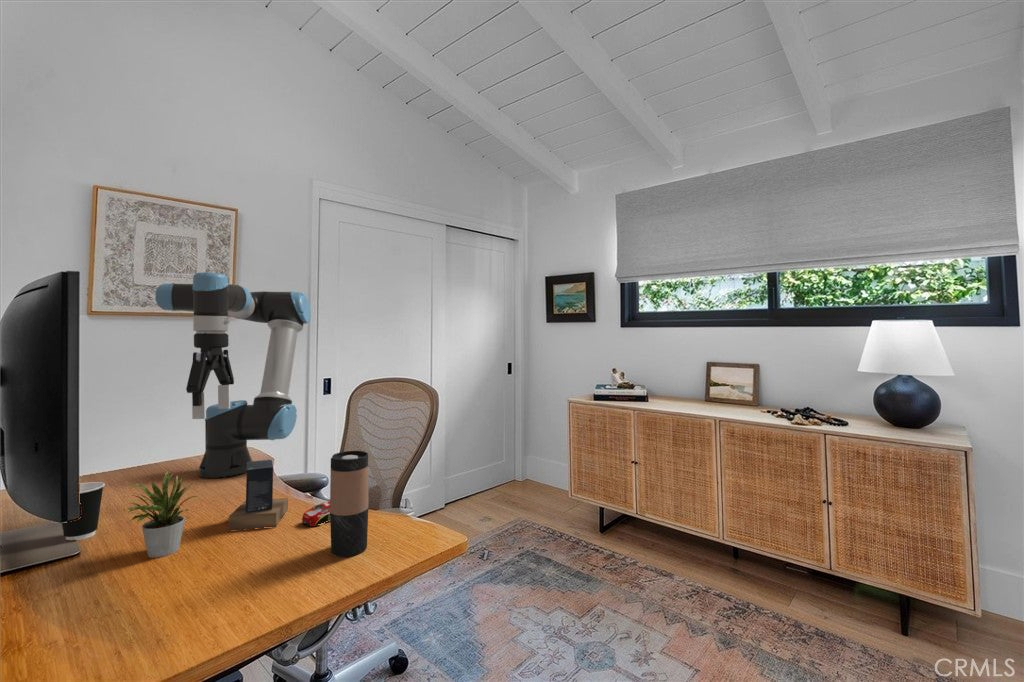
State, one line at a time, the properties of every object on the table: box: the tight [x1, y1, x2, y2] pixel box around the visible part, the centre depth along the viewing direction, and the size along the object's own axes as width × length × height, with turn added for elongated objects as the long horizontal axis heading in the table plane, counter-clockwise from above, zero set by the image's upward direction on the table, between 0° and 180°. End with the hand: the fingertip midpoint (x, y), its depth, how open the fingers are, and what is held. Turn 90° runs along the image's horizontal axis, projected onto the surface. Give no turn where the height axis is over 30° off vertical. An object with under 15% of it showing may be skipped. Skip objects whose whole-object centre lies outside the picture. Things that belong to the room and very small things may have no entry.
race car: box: [301, 500, 330, 527], centre depth 111 cm, size 13×5×4 cm, turn 143°
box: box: [245, 459, 274, 514], centre depth 108 cm, size 8×6×11 cm
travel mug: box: [329, 450, 369, 558], centre depth 94 cm, size 8×8×20 cm
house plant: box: [120, 471, 199, 559], centre depth 93 cm, size 14×14×16 cm
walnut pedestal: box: [228, 497, 289, 532], centre depth 109 cm, size 10×10×4 cm
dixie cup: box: [61, 481, 106, 541], centre depth 100 cm, size 8×8×11 cm
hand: (212, 413), depth 117 cm, fingers open, 13 cm apart
